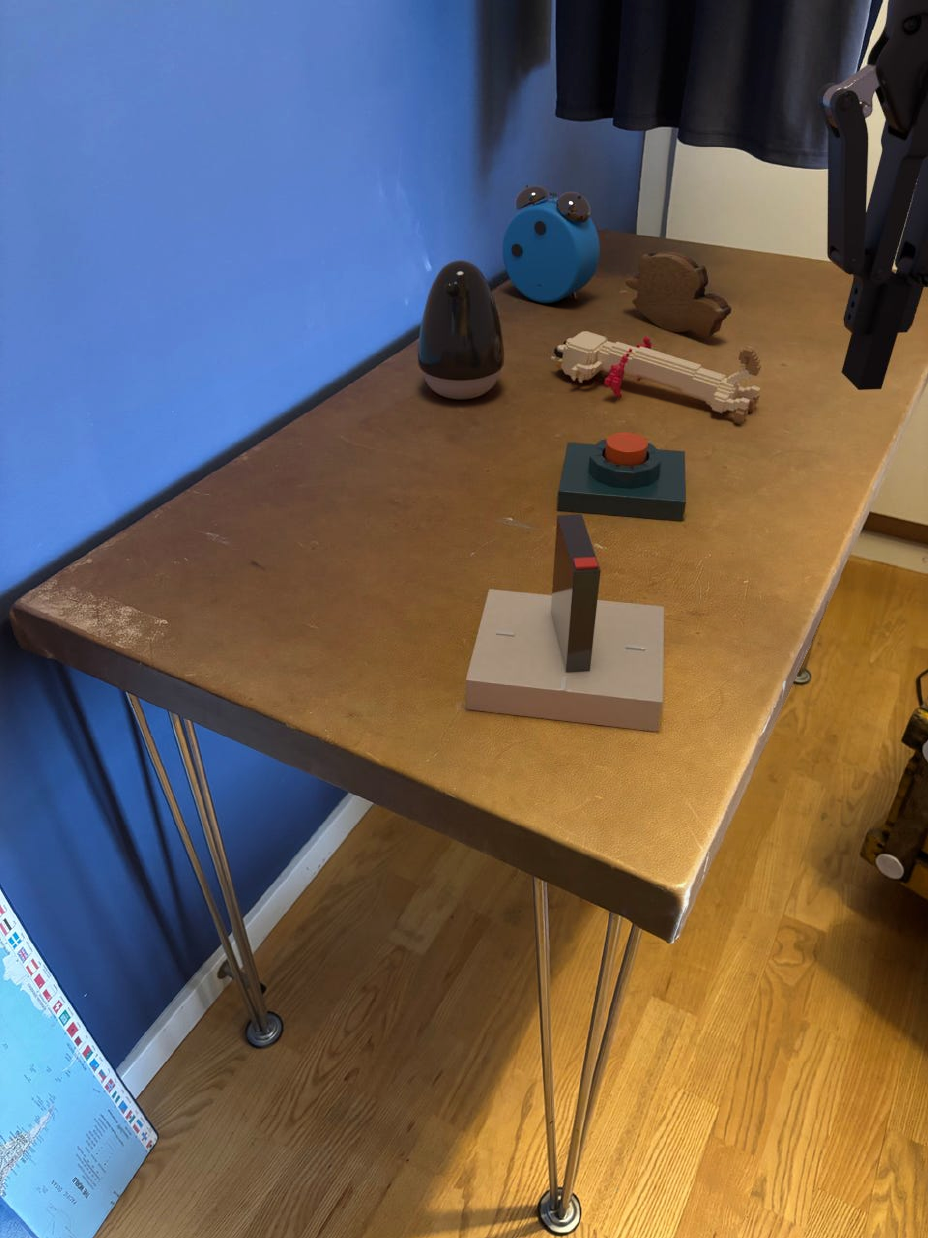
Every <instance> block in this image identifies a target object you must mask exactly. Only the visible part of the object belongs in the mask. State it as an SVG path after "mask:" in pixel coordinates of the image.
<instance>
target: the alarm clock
mask: <svg viewBox="0 0 928 1238" xmlns="http://www.w3.org/2000/svg"><path fill="white" fill-rule="evenodd" d="M550 196H552V198H548V197H550ZM557 196H558V193H557V192H552V191H550V192H548V189H546V187H544V186H541V185H538V184H537V185H536V184H535V185H530V186H529V185H528V184H526V185H525V188H524V189H522V190H520V192H519V193H518V194H517V196H516V198H515V200H514V207H515V210H516V211H518V212H517V213H516V214H515V215H514V216H513V217H512V218H511V219H510V221H509V223H507V226H506V228H505V231H504V234H503V239H502V259H503V265H504V268H505V271H506V273H507V276H508V277H509V280H510V282H511V283H512V284H513V286H514V287H515V289H517V290H518V291H519V292H520V293H521V294H522V295H523V296H524V297H526V298H527V299H529V300H530V301H534V302H536V303H541V304H552V303H556V302H558V301H561V300H563V299H565V298H567V297H568V296H570V295H572V298H573V299H574V300H577V294H576V292H578V291H580V290H581V289H583V288H584V287H585V286H586V285H588V283H590V281H591V280H592V278H593V277H594V275H595V273H596V271H597V269H598V265H599V261H600V256H601V255H600V253H601V250H600V249H601V248H600V247H601V245H600V238H599V235H598V232H597V231H598V230H597V229H596V226H595V224H594V221H593V220H592V218H591V217H590V215H591V205H590V203H589V200H588V199H587V198H586V197H585V196H584V195H583V194H582V193H579V192H576V191H566V192H564V193H562V194H560V195H559V197H557ZM546 198H548V199H546ZM544 199H545V200H544ZM541 200H543V201H541Z"/></svg>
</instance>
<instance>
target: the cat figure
mask: <svg viewBox="0 0 928 1238" xmlns="http://www.w3.org/2000/svg"><path fill="white" fill-rule="evenodd" d="M642 342H643V343H640V344H639V343H637V344H636V346H633V345H630V344H627V343H624V342H621V341H616V342H612V341H608V338H607V337H606V336H604V335H600V334H597V333H594V332H591V331H588V330H586V331H583V330H582V331H581V332H579V333H578V334H577V335H575V336H574V337H569V338H568V339H566V340H564V341H563V343H562V344H559V345H557V346H556V347H554V349H553V354H554V356H551V357H550V360H551V361H553V362H554V364H556V365H555V367H556V368H558V369H561V370H562V371H563V373H564V375H567V376H570V378H571V380H572V381H574V382H575V381H576V380H577V381H578V383H579V384H583V381H589V380H590V379H593V377H595V376H596V375H597V374H598V373H600V372H601V371H603V372H607V373H608V376H607V377H606V378H604V383H603V384H604V386H606V387H609V389H611V391H612V393H613V395H614V396H616V397H618V398H622V395H623V394H622V393H621V392H622V388H621V386H622V381H623V379H624V377H625V376H627V377H629V378H633V379H635V380H636V381H639V382H640V381H641V379H643V380H646V381H650V382H653V383H656V384H659V385H662V386H664V387H668V388H671V389H674V390H677V391H680V392H681V393H682V395H685V396H688V397H690V398H695V399H696V400H700V401H703V402H705V403H706V405H708V406H710V407H709V408H711V411H714V412H717V413H720V414H724V412H727V411H730V412H733V413H734V415H733V418H732V420H733V423H734V424H738V425H740V426H741V425H742V424H743V423H744V422H745V419H746V417H747V416H748V413H753V411H755V408H756V405H757V404H758V402H759V398H760V391H761V387H759V386H757V385H752V386H748V385H747V386H746V387H743V386H741V384H740V383H741V382H742V381H744V382H747V381H748V380H751V378H752V379H753V378H754V377H757V376H758V375H759V374H760V371H761V367H762V365H761V364H760V361H761V359H760V358H759V356H758V355H757V352H755V349H754V348H752V347H751V348H750V347H746V346H745V348H742V349H741V350H740V351H739V356H738V359H737V360H738V361H740V362H739V363H740V364H743V365H744V367H745V368H742V369H739V370H738V371H736V372H735V373H732V374H730V375H729V376H728V377H726V374H723V373H720V372H717V371H713V370H710V369H707V368H704V367H702V364H699V363H696V362H693V361H690V360H687V359H683V358H680V357H677V356H673V355H670V354H667V353H665V352H661V351H657V350H654V349H651V348H652V345H653V343H652V341H651V338H649V337H648V336H643V340H642ZM557 358H559V359H557Z"/></svg>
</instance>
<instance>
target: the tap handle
mask: <svg viewBox="0 0 928 1238" xmlns="http://www.w3.org/2000/svg"><path fill="white" fill-rule="evenodd" d="M555 527H556V528H555V540H554V541H555V543H554V557H553V561H554V562H553V572H552V573H553V574H552V587H551V588H552V589H551V595H552V602H551V615H552V619H553V623H554V627H555V631H556V635H557V639H558V643H559V647H560V651H561V655H562V659H563V663H564V667H565V671H566V672H577V671H590V667H591V657H592V648H593V638H594V629H595V620H596V610H597V601H598V600H599V591H600V582H601V571H602V569H601V566H600V564H599V560H598V558H597V556H596V551H595V549H594V547H593V544H592V541H591V538H590V534H589V532H588V528H587V526H586V523H585V520H584V516H583V514H582V513H573V514H557V515H556V526H555Z"/></svg>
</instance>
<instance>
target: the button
mask: <svg viewBox="0 0 928 1238" xmlns="http://www.w3.org/2000/svg"><path fill="white" fill-rule="evenodd" d="M606 439H607V440H606V449H605V458H606V460H607V461H608V462H611V463H614V464H616V465H621V466H635V465H640V464H643V463H644V462H645V460H646V455H647V447H648V443H649V442H648V440H647V439H646V438H645V437H644V436H642V435H641V434H638V433H634V432H627V431H626V432H625V431H623V432H616V433H612V434H611V435H609V436H608V437H606Z"/></svg>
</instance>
